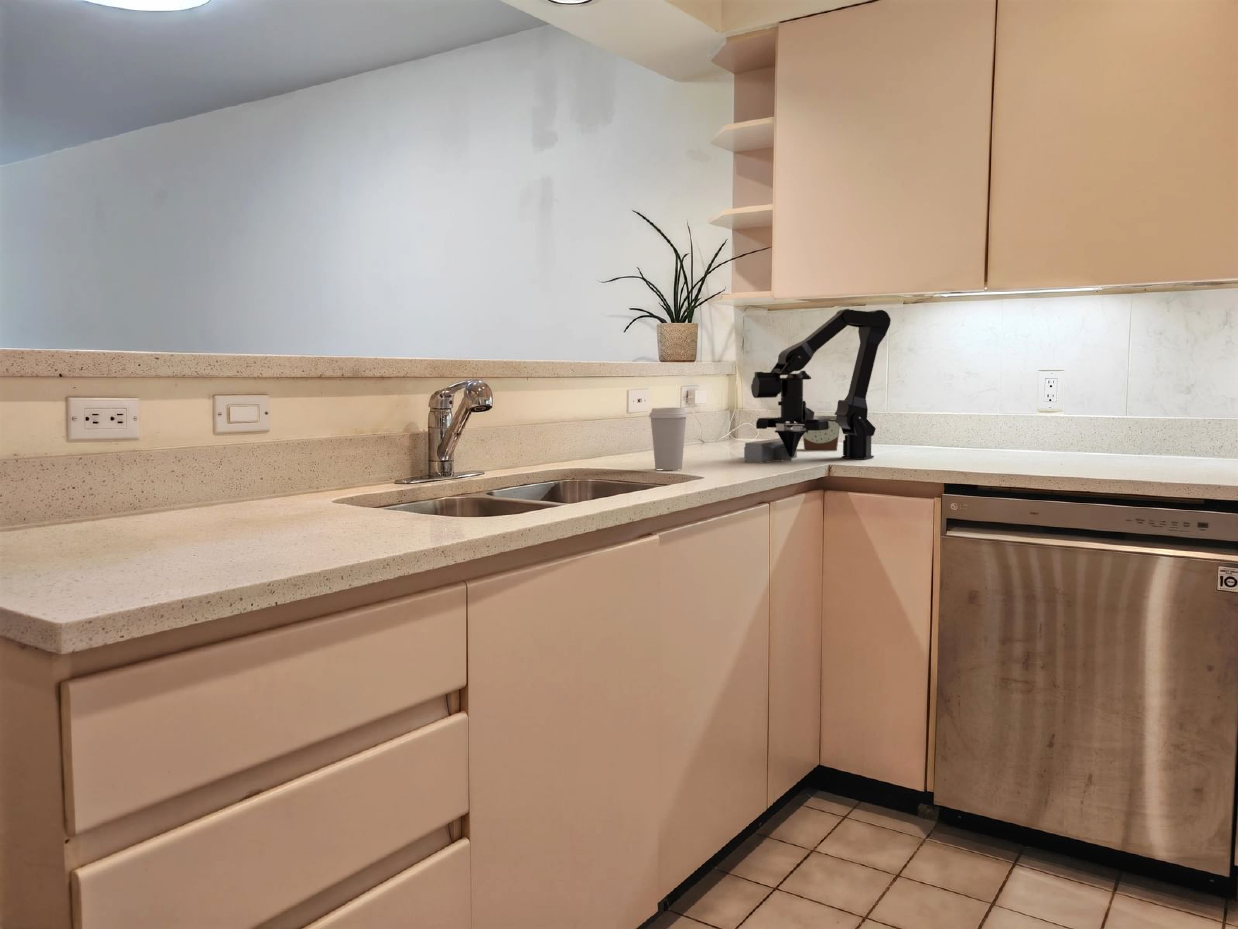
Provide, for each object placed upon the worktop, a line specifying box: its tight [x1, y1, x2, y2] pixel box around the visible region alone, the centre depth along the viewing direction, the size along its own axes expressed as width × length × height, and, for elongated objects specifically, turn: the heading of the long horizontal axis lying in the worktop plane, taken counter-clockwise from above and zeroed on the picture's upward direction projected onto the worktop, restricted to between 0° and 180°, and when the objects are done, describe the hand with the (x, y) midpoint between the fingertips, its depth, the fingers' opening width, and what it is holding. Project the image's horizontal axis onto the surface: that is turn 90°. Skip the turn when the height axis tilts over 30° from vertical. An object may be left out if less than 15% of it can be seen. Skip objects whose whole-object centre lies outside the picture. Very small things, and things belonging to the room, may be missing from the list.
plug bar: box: [743, 446, 793, 461], centre depth 244 cm, size 13×4×3 cm, turn 41°
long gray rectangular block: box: [744, 437, 798, 463], centre depth 242 cm, size 5×18×5 cm, turn 139°
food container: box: [802, 415, 841, 452], centre depth 266 cm, size 12×6×10 cm, turn 84°
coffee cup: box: [648, 407, 689, 471], centre depth 221 cm, size 10×10×15 cm
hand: (791, 456), depth 238 cm, fingers closed
